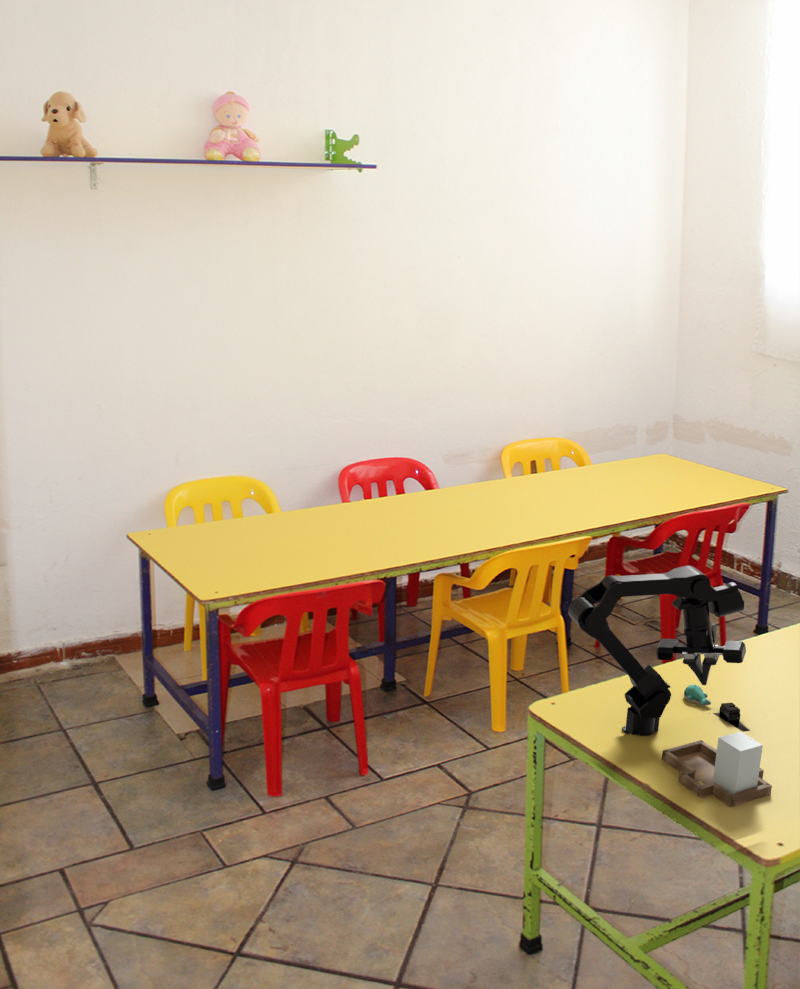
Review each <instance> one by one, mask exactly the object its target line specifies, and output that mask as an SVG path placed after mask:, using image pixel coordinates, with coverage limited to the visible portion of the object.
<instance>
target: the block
mask: <svg viewBox="0 0 800 989" xmlns="http://www.w3.org/2000/svg"><path fill="white" fill-rule="evenodd" d="M763 746H764V745H763V744H762V743H760V742H758V741H756V739H753V738H752V737H750V736H749V735H747V734H746V733H745V732H744V733H743V731H737V732H734V733H730V734H725V735H722V736H719V737H718V739H717V747H716V750H717V753H716V761H715V769H714V777H713V784H714V783H716V784H717V785H719V786H720V787H721V788H723V789H724V790H726V791H727V792H729V793H730V794H734V793H738V792H741V791H744V790H747V789H751V788H754V787H757V783H758V776H759V769H760V768H761V761H762V754H763Z"/></svg>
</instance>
